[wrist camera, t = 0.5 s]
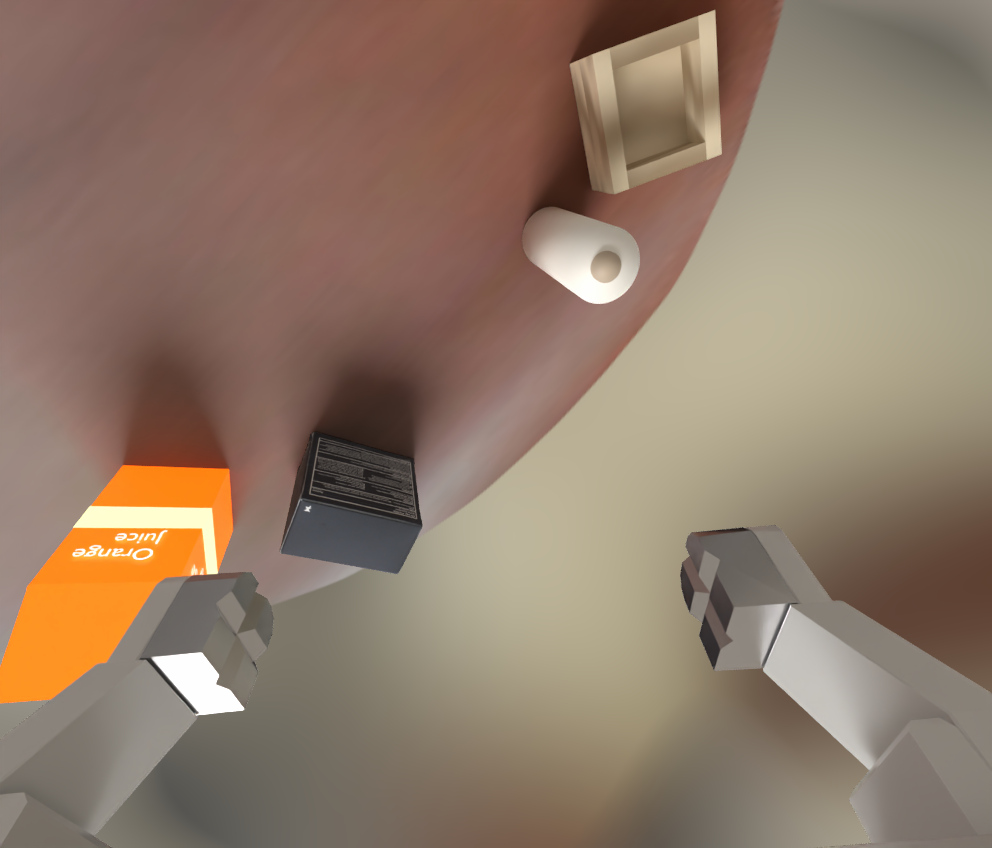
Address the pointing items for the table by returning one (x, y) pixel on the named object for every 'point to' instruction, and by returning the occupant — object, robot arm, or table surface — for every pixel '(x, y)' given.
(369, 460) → the small box
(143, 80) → the table surface
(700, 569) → the robot arm
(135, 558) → the orange juice
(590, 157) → the open wooden box
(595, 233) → the paper roll
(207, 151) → the table surface
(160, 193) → the table surface
